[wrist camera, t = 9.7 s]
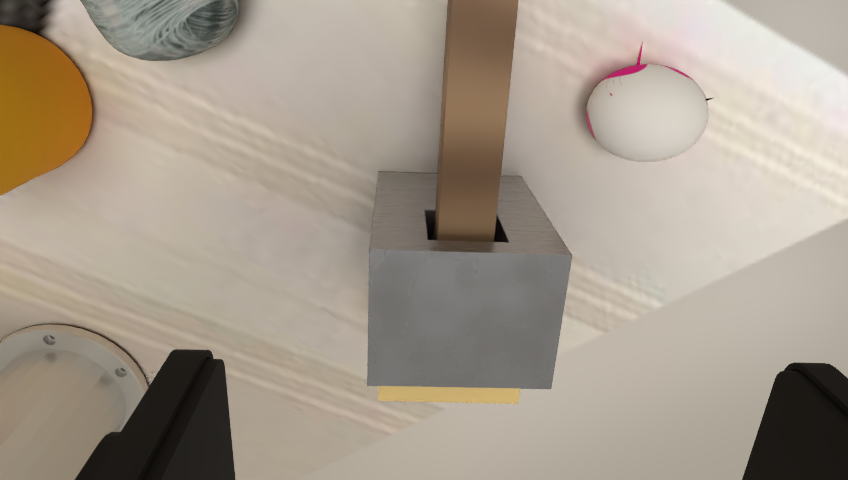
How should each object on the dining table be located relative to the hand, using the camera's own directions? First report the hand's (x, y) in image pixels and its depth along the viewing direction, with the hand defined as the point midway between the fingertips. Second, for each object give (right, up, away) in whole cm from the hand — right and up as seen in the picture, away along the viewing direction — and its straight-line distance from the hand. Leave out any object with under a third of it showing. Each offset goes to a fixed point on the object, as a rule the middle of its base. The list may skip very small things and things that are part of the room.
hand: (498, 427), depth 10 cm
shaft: (+1, +7, +23) cm, 24 cm away
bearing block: (0, +4, +33) cm, 34 cm away
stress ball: (+13, +13, +30) cm, 35 cm away
